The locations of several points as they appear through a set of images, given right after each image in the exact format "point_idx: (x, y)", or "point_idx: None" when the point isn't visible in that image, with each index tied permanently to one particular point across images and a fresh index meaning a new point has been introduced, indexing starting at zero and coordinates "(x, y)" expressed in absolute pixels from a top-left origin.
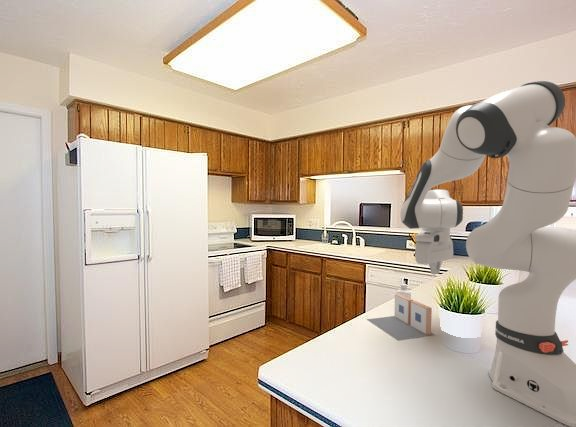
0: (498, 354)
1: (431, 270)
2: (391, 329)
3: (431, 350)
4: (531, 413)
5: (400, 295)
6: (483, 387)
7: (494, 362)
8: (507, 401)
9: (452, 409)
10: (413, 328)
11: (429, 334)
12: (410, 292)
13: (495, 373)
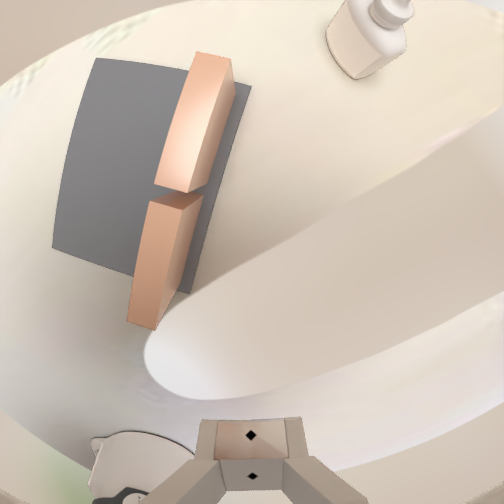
0: (88, 481)
1: (199, 451)
2: (91, 175)
3: (94, 331)
4: (93, 465)
5: (204, 84)
6: (82, 429)
7: (104, 460)
8: (86, 450)
9: (13, 408)
10: None
11: None
12: (402, 51)
13: (98, 453)
